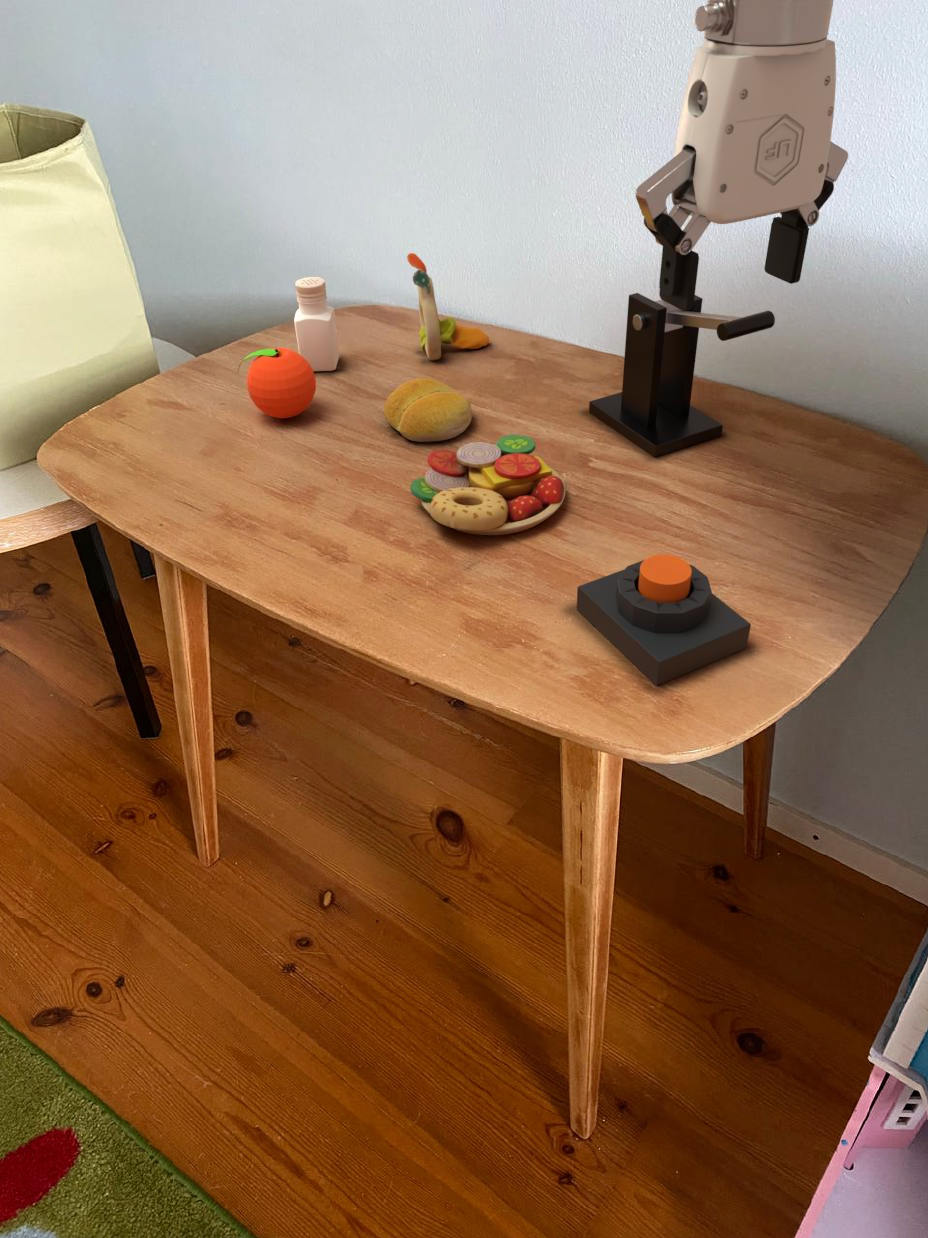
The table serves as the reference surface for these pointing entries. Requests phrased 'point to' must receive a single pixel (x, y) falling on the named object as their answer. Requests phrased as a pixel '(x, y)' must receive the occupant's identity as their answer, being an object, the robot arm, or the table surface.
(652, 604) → the control block
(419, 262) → the rattle
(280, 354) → the clementine
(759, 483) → the table surface
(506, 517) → the toy food set
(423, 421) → the bread roll
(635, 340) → the bracket
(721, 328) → the lever
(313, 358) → the salt shaker
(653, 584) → the button
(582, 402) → the table surface
